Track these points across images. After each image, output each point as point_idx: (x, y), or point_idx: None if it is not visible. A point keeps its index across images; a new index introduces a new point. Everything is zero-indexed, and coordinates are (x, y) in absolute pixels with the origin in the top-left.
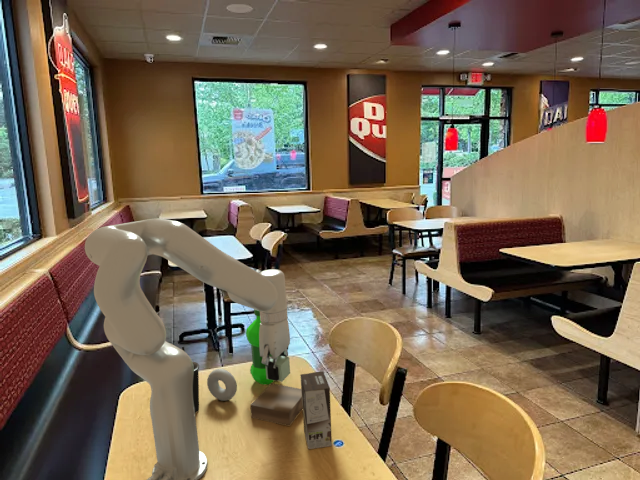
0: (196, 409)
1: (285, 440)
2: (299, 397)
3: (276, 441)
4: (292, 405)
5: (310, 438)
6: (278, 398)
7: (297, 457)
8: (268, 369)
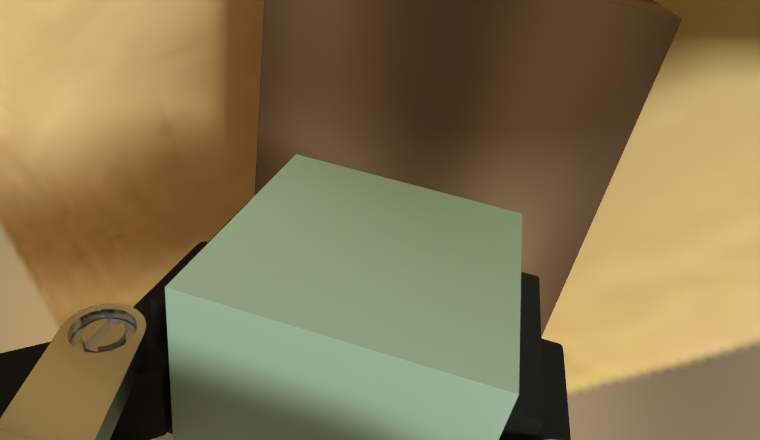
0: None
1: (180, 211)
2: None
3: (157, 169)
4: None
5: None
6: (403, 159)
7: (107, 275)
8: (136, 306)
